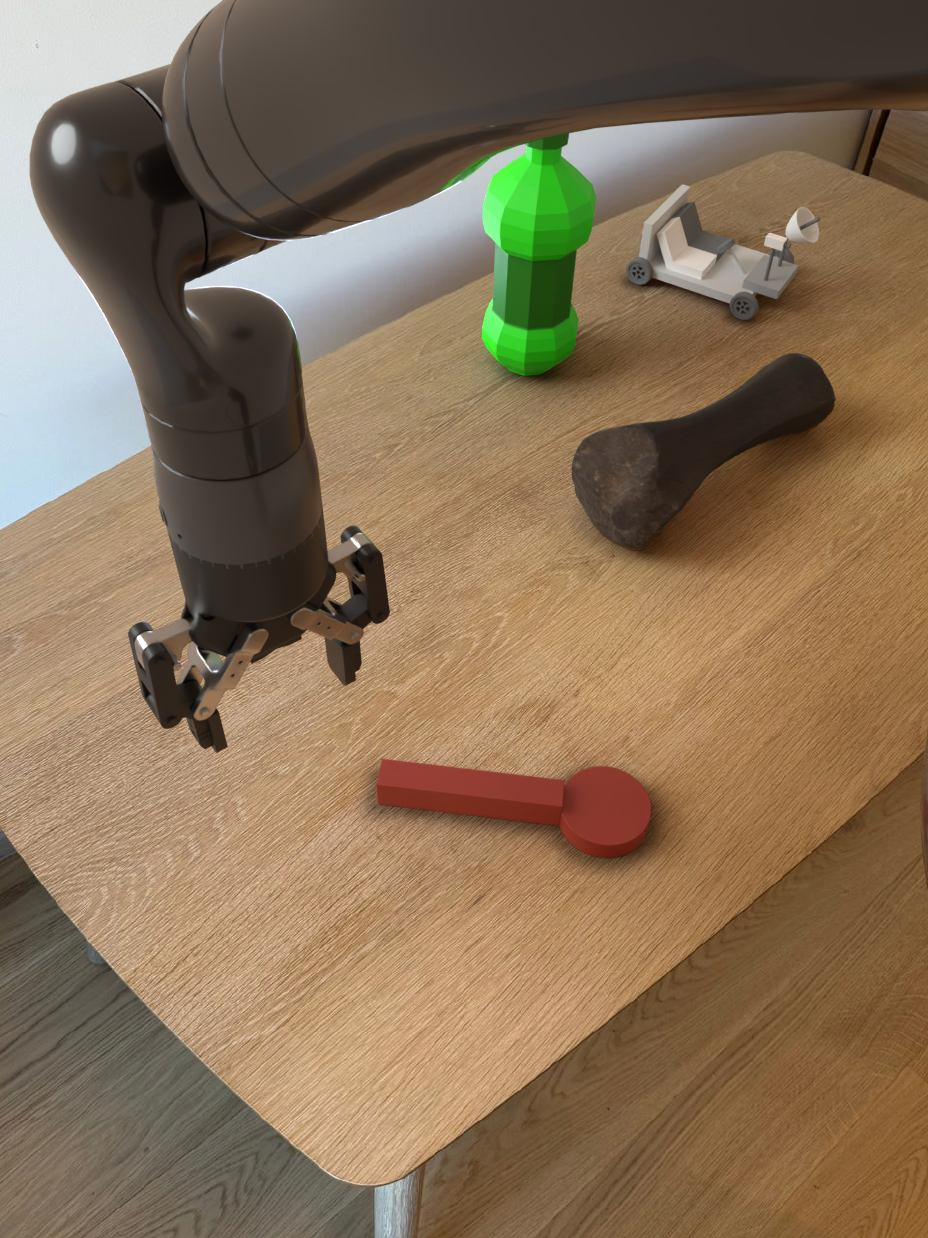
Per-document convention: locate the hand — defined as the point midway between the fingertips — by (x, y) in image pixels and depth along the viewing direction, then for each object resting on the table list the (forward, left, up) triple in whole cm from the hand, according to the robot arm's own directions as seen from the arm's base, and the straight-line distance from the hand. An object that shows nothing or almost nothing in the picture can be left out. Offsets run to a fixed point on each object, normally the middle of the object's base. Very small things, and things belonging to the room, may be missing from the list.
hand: (280, 706), depth 65 cm
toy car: (+75, -31, -16) cm, 83 cm away
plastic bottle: (+57, -11, -16) cm, 60 cm away
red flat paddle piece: (+4, -14, -15) cm, 21 cm away
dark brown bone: (+42, -28, -16) cm, 53 cm away
